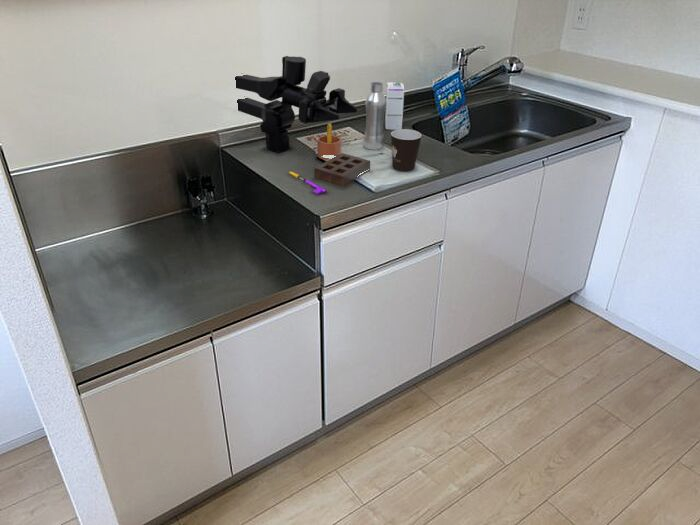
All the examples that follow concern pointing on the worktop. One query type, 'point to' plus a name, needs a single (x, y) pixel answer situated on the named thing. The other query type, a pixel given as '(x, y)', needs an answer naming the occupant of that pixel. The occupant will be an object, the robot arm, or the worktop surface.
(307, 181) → the purple long piece
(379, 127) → the silver metal bottle
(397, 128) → the syrup box
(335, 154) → the pen pot
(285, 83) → the robot arm
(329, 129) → the pencil
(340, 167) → the pencil block
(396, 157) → the coffee mug
